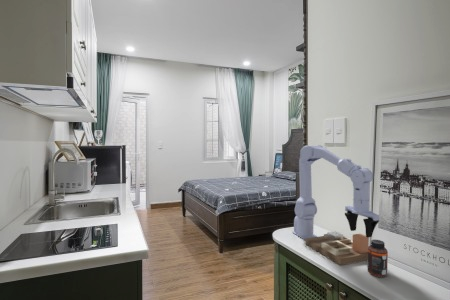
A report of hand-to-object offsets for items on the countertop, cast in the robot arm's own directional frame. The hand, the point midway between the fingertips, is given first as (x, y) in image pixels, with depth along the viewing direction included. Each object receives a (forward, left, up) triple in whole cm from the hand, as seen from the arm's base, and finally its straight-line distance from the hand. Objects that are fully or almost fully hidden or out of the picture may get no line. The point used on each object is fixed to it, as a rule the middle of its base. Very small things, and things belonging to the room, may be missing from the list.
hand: (360, 233), depth 104 cm
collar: (-4, -9, -7) cm, 11 cm away
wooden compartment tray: (-8, -5, -9) cm, 13 cm away
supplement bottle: (+12, -5, -10) cm, 16 cm away
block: (-12, -2, -7) cm, 14 cm away
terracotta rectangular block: (0, 0, -7) cm, 7 cm away
